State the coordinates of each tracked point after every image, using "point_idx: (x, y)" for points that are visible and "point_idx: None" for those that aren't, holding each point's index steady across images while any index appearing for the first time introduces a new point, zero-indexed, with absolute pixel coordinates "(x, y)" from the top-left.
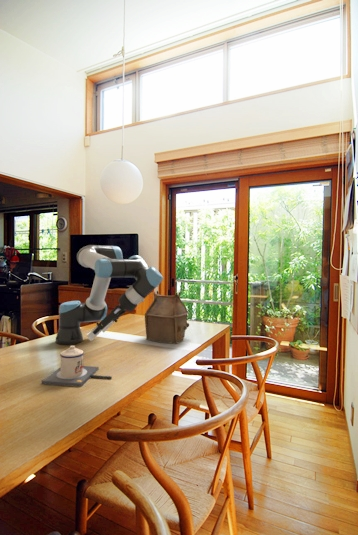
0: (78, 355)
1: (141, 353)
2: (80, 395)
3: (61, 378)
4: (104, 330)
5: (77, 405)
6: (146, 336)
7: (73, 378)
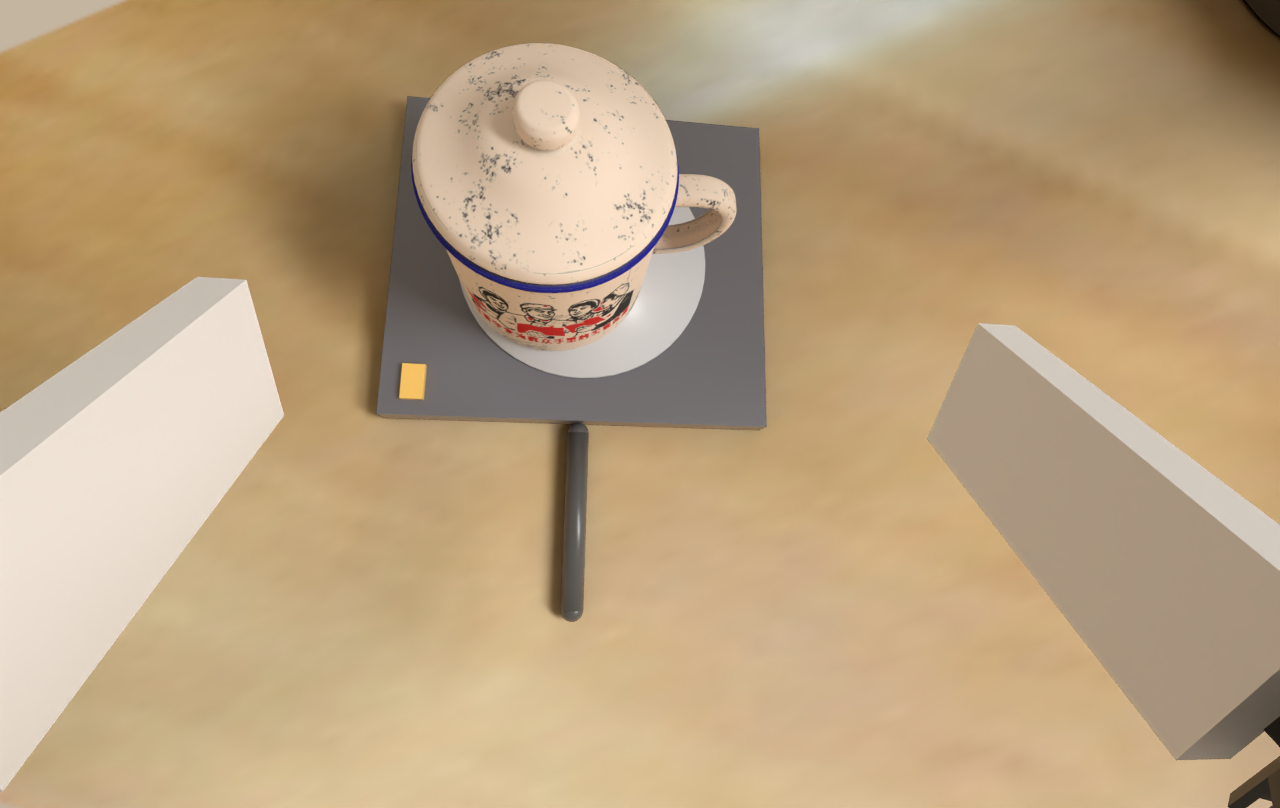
0: (472, 261)
1: None
2: None
3: None
4: (957, 451)
5: None
6: None
7: (471, 312)
